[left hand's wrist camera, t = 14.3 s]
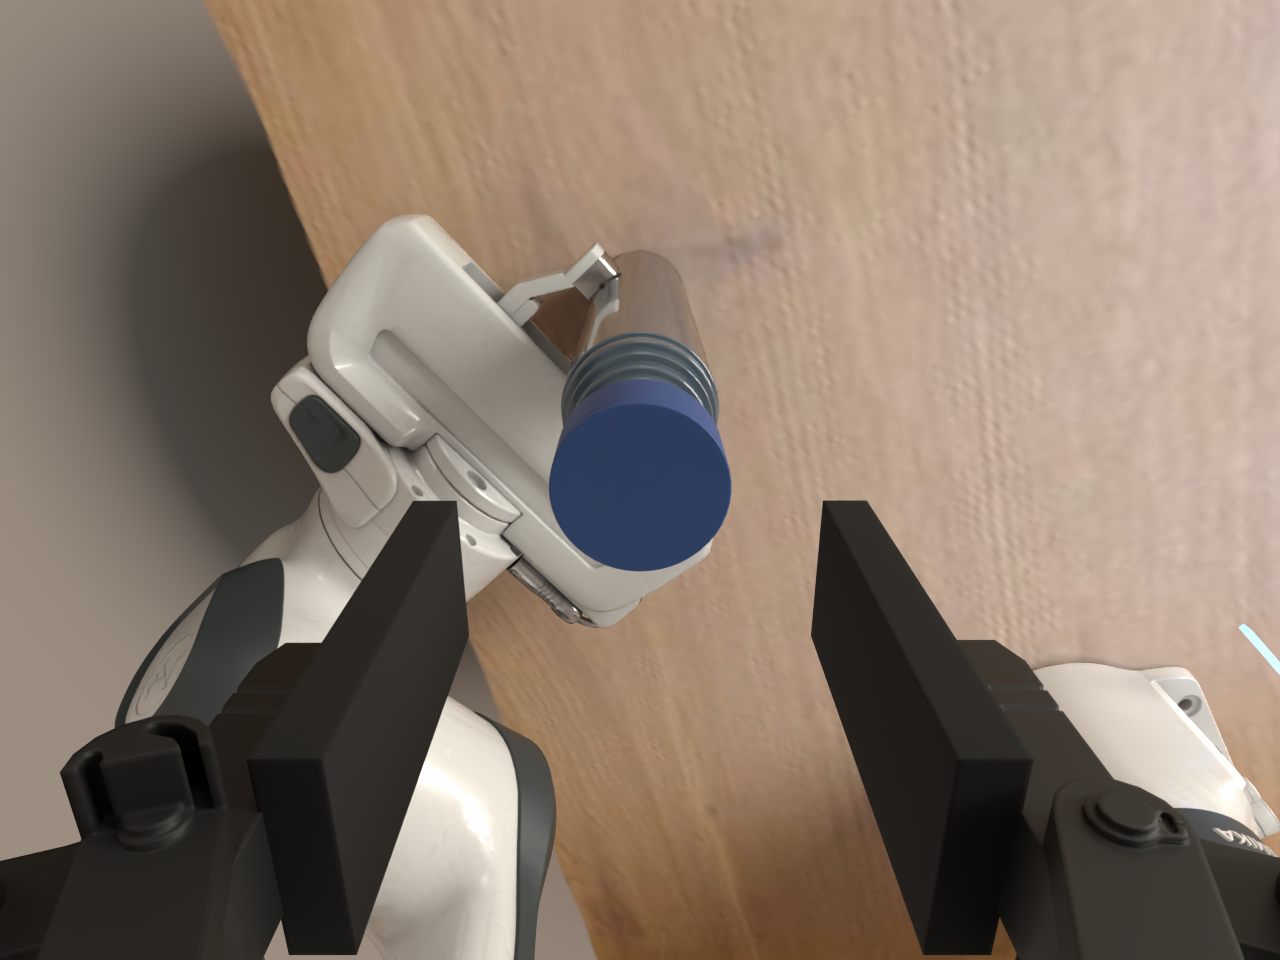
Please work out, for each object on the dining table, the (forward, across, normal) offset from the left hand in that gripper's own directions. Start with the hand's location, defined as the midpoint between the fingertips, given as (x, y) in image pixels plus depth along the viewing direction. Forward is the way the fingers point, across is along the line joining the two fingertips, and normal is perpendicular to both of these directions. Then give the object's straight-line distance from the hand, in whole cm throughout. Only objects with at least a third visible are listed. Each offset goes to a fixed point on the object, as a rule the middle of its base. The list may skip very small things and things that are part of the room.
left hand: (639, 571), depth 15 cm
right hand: (+23, -1, -1) cm, 23 cm away
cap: (+4, 0, 0) cm, 4 cm away
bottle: (+30, 0, 0) cm, 30 cm away
